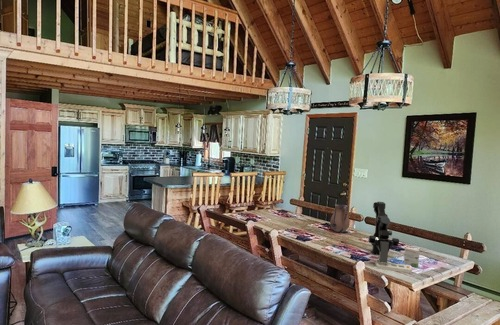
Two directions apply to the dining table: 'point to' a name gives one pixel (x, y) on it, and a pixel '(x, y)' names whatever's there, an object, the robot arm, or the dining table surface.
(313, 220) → the dining table surface
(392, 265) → the power strip
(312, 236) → the dining table surface
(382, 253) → the charger plug
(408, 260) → the ink box
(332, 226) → the ceramic pitcher
